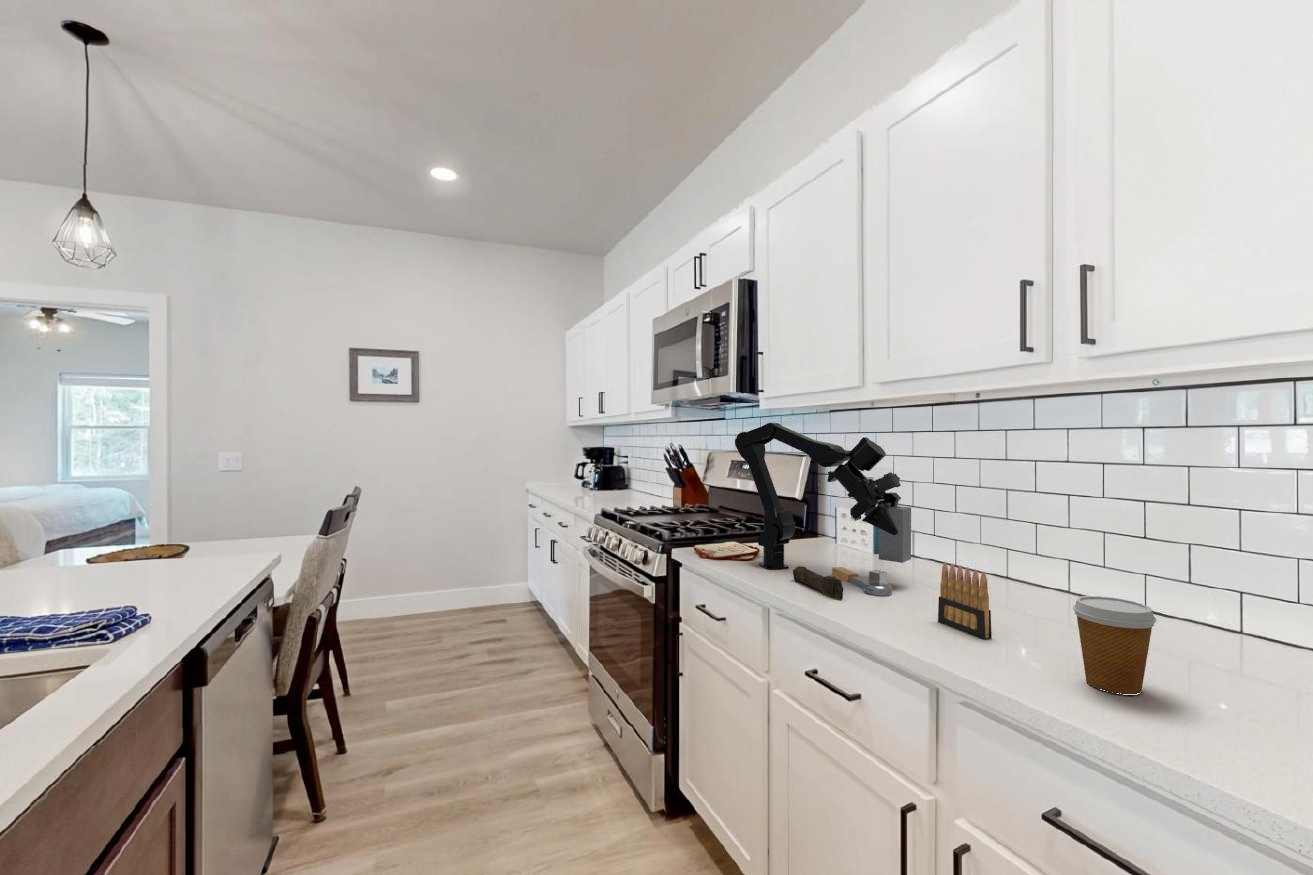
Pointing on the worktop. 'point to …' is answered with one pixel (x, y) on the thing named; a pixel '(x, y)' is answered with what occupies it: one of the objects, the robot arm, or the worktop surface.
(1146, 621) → the disposable coffee cup
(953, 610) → the ammunition clip
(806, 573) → the hand tool
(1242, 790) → the worktop surface
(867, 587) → the ratchet
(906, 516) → the grey metal square prism
